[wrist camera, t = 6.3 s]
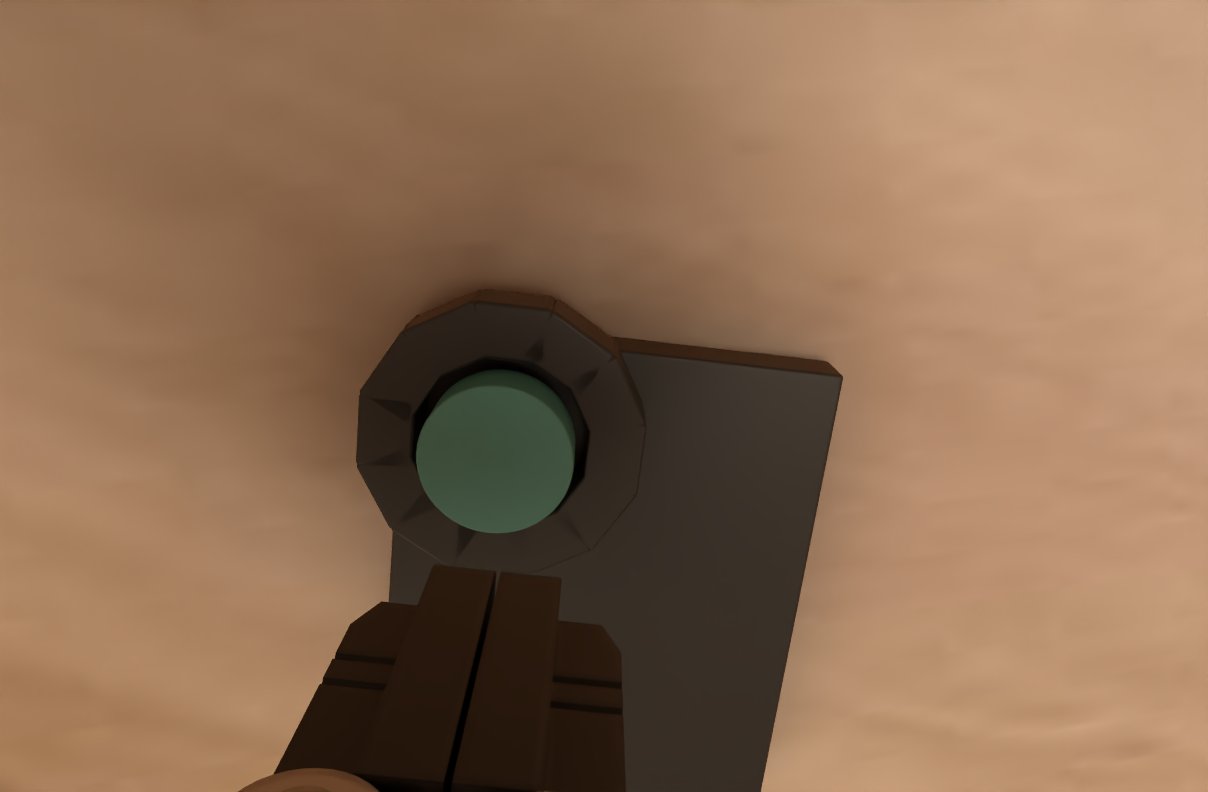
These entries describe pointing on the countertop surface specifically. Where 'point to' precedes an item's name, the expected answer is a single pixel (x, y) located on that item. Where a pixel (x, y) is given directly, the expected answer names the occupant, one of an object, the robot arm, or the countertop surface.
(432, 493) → the button
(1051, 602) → the countertop surface
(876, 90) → the countertop surface
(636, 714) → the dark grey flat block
